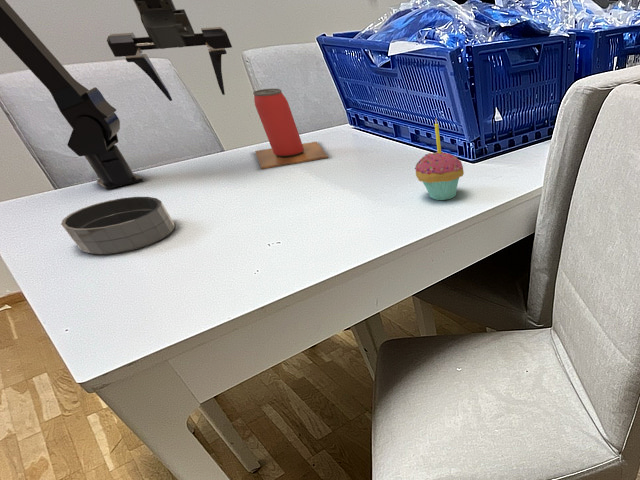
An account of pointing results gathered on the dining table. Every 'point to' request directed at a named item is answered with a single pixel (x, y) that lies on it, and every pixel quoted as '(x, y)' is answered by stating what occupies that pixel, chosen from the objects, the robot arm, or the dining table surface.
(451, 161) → the cupcake
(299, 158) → the cork mat
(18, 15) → the robot arm
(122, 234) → the pan
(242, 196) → the dining table surface
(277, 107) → the beer can
